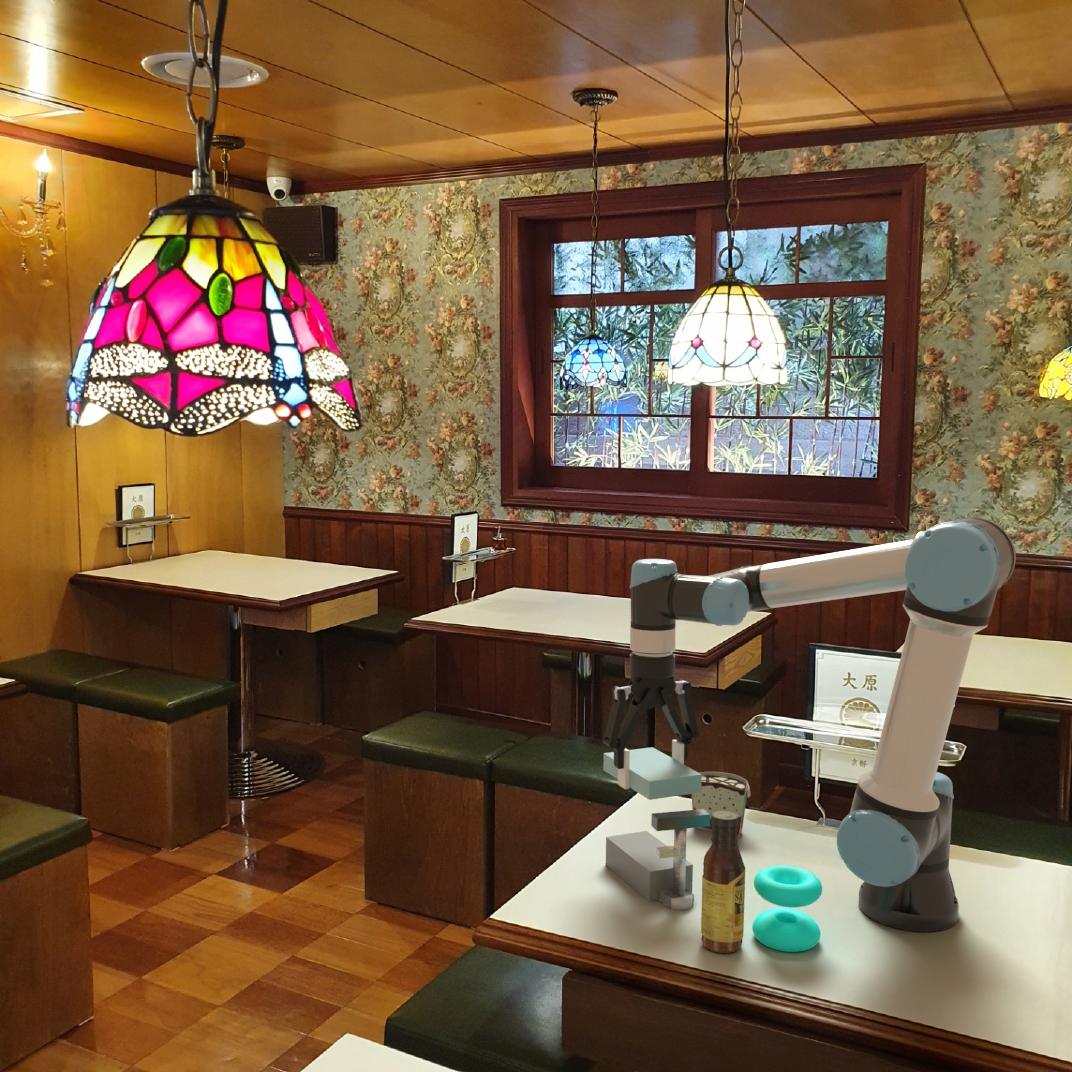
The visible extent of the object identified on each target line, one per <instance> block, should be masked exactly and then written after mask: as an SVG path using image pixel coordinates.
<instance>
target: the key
mask: <svg viewBox="0 0 1072 1072" xmlns="http://www.w3.org/2000/svg"><path fill="white" fill-rule="evenodd" d="M650 823H651V827H652V828H653V829H654V830H655V831H656V832H663V831H673V845H667V846H665V847H656V855H657V856H658V857H659V858H669V857H673V893H674V894H678V895H682V894H685V879H686V860H687V839H688V838H687V833H688V830H687V829H699V828H698V827H709V826H710V814H709V813H708V812H707V811H706V810H704V809H698V810H693V809H689V810H688V809H687V810H680V811H679V810H677V811H668V812H667V811H665V812H653V813H651V821H650Z"/></svg>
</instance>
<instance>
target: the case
mask: <svg viewBox="0 0 1072 1072" xmlns="http://www.w3.org/2000/svg"><path fill="white" fill-rule="evenodd" d="M665 846H668V845H667V844H666V843H664V842H663V841H661V840H660V839H658V838H657V837H656V836H654V835H653V834H651V833H650V832H649V831H647V830H643V831H637V832H631V833H623V834H617V835H610V836H606V837H605V866H607V867H608V868H609V869H610V870H611V871H613V872H614V873H615V874H616V875H617V874H618V875H617V876H618V877H619V878H620V879H623V881H624V882H626V883H627V884H628V885H629V886H630V887H632V888H633V890H635V891H637V892H638V893H639V894H640V895H641V896H642V897H643V898H645V900H646V901H648V902H655V901H660V902H661V903H662V904H663V905H665V907H668V909H672V910H675V911H683V910H685V911H686V910H689V909H690V908H692V907H693V905H694V904H695V902H694V901H695V898H694V897H695V894H693V877H694V876H693V874H694V873H693V872H694V865H693V863H692V862H691V861H689V860H687V859H686V879H685V894H682V895H678V894H674V893H673V857H669V858H659V857H658V856H657V855H656V847H665Z"/></svg>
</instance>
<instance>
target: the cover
mask: <svg viewBox="0 0 1072 1072" xmlns="http://www.w3.org/2000/svg"><path fill="white" fill-rule="evenodd" d="M629 750H630V769H629V789H632V790H634V791H635V792H636V793H638V794H640V795H641V796H643V797H644V798H646V799H647V800H659V799H664V798H665V799H666V798H670V797H671V798H672V797H679V796H685V795H691V794H693V793H700V792H701V778H702V774H700V773H701V772H698V771H696V770H694V769H692V768H691V767H689V766H687V765H685V764H682V763H680V762H678V761H676V760H674V759H673V758H672V756H670V755H667V754H666V753H664V752H662V751H660V750H658V749H656V748H654V747H653V746H652V747H644V748H636V749H629ZM603 771H604V772H606V773H607V774H609V775H610V776H612V777H613V778H615V779H616V780H618V768H616V767H615V766H614V751H611V752H604V753H603Z"/></svg>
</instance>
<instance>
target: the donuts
mask: <svg viewBox="0 0 1072 1072" xmlns="http://www.w3.org/2000/svg"><path fill="white" fill-rule="evenodd" d="M753 885H754V890H755V891H756V893H757V895H758V896H760V897H761V898H762V899H764V900H765V901H767V902H768V903H770V904H772V905H776V906H780V907H778V908H777V907H775V908H770V909H767V910H764V911H762V912H760V913H758V915H756V917H755V918H754V920H753V923H752V925H751V926H752V928H751V929H752V933H753V935H754V937H755V938H756V939H757V940H758V941H759V942H760V943H761V944H763V945H764V946H765V947H768V948H770V949H772V950H776V951H780V952H787V953H789V952H790V953H796V952H797V953H799V952H805V951H808V950H810V949H813V948H814V947H815V946H816V945H817V944H818V943H819V942H820V939H821V929H820V926H819V925H818V923H817V921H815V919H813V918H812V917H811V916H810V915H808V914H806V913H805V912H802V911H799V910H797V909H792V908H803V907H807V906H810V905H812V904H814V903H815V902H817V901H818V900H819V899H820V897H822V893H823V885H822V882H821V880H820V879H819V877H817V875H816V874H814V873H813V872H811V871H809V870H807V869H804V868H801V867H796V866H792V865H783V864H782V865H771V866H767V867H764V868H762V869H761V870H759V871H758V872H757V873H756V875H755V876H754V878H753Z"/></svg>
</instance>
